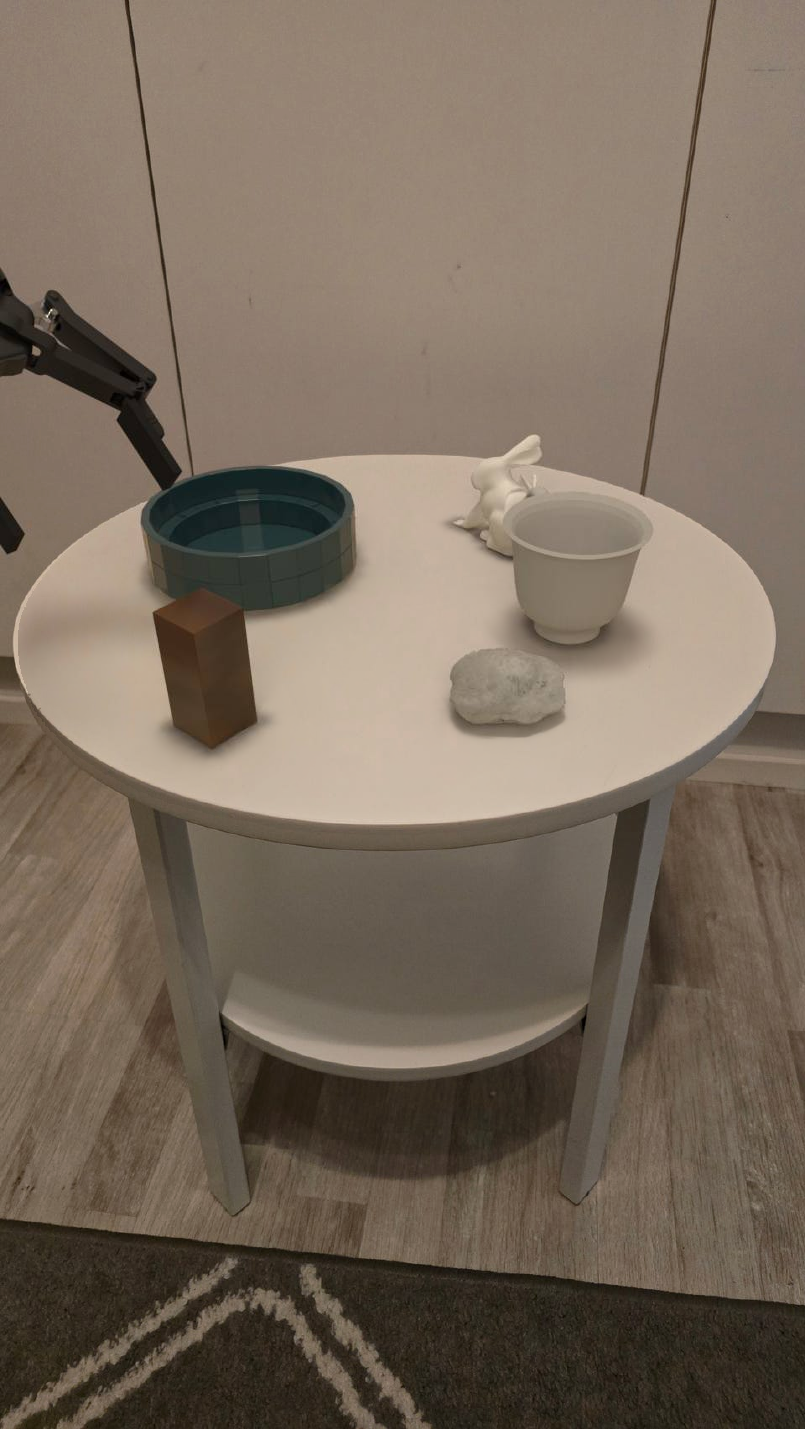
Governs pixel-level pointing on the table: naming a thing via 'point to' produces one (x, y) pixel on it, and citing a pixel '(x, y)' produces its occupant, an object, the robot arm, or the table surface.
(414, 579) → the table surface
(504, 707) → the pebble
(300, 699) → the table surface
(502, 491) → the rabbit figurine
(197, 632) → the walnut block
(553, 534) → the teacup
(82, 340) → the robot arm
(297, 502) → the bowl
